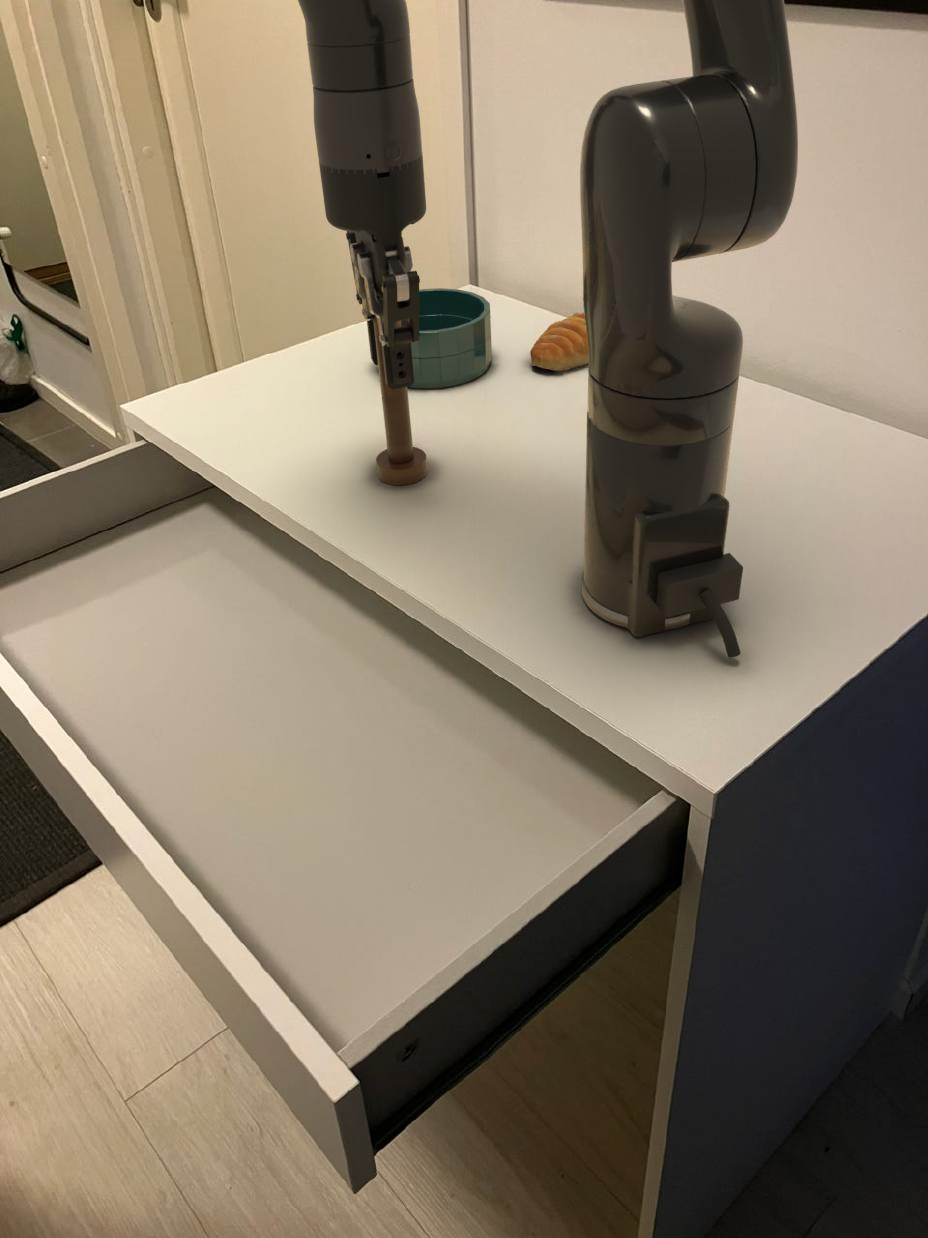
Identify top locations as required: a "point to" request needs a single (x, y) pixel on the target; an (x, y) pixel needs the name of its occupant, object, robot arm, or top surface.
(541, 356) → the pastry
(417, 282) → the robot arm
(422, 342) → the bowl
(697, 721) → the top surface
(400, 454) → the stick
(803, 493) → the top surface
